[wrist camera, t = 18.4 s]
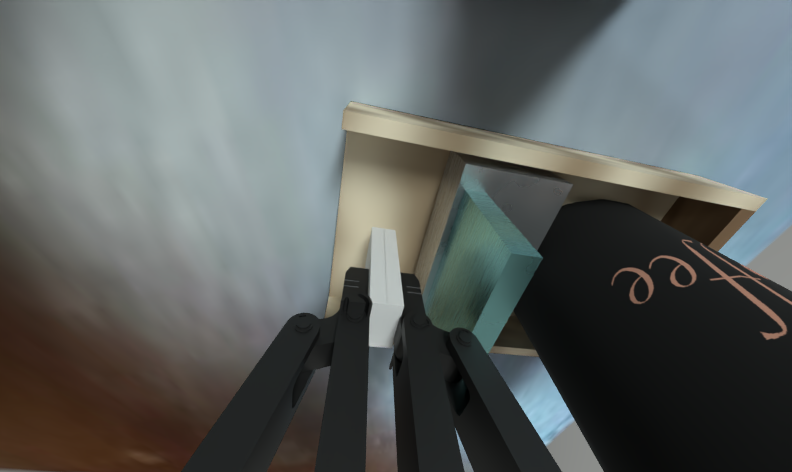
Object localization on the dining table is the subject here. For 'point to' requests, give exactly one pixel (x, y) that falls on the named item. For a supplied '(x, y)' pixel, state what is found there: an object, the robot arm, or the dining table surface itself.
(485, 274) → the teal piece
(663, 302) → the coffee jar
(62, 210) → the dining table surface
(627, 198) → the channel
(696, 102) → the dining table surface
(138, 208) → the dining table surface
